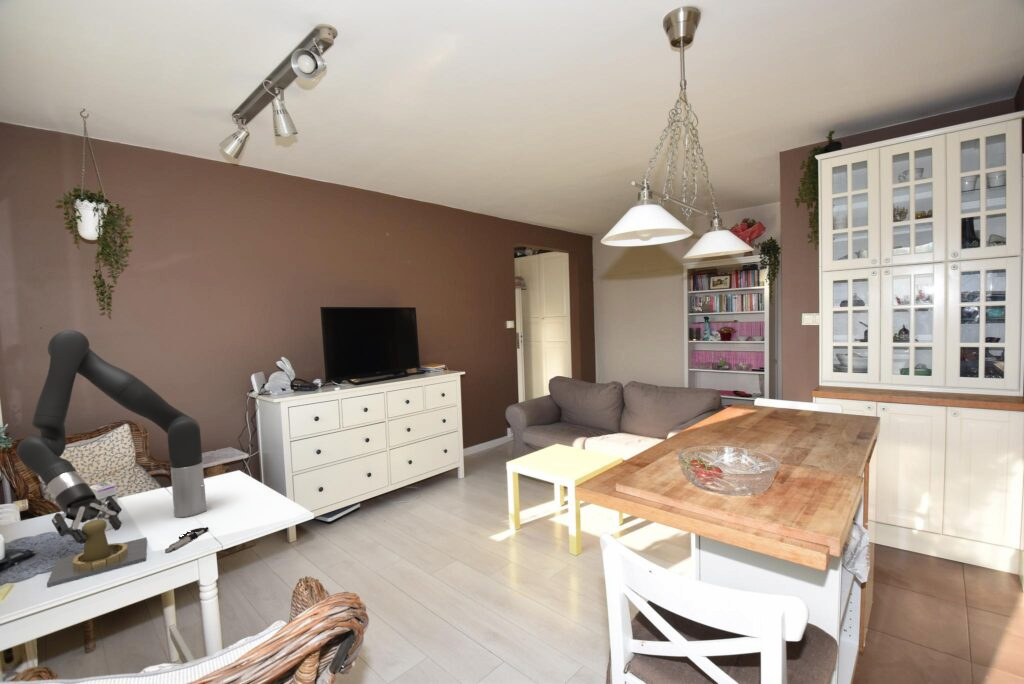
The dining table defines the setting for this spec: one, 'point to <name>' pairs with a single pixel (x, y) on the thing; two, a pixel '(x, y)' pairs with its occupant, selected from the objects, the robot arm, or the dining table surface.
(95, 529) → the cork
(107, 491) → the syrup box
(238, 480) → the dining table surface
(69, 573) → the collar plate
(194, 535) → the micrometer
